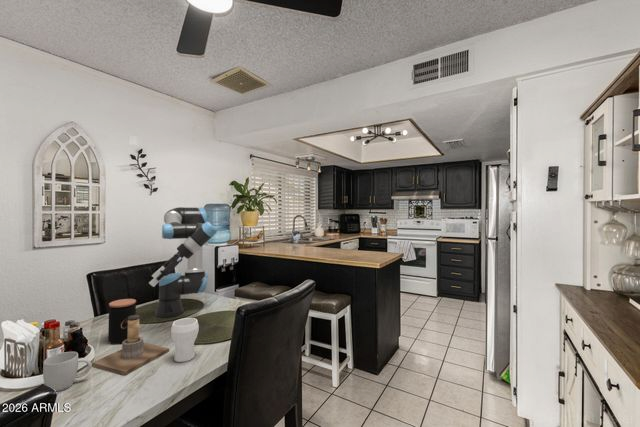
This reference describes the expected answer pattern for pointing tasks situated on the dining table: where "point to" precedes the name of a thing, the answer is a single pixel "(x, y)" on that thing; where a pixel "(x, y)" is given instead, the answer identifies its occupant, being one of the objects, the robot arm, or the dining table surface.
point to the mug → (63, 370)
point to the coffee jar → (120, 319)
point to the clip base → (131, 363)
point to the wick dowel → (133, 329)
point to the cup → (184, 338)
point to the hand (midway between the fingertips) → (152, 281)
